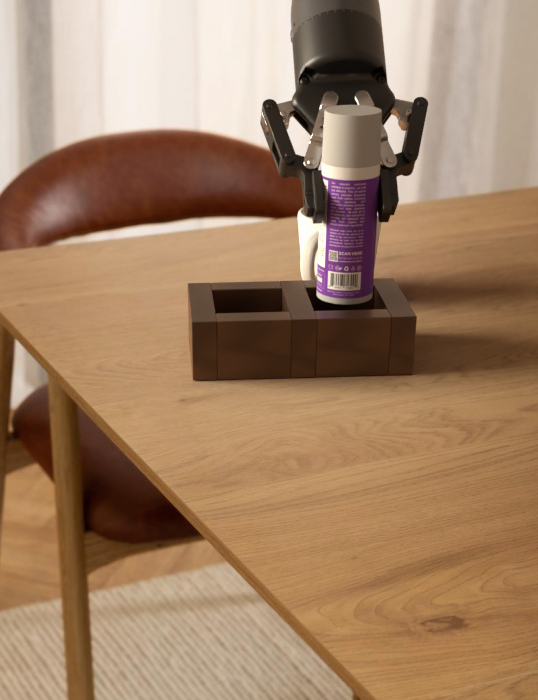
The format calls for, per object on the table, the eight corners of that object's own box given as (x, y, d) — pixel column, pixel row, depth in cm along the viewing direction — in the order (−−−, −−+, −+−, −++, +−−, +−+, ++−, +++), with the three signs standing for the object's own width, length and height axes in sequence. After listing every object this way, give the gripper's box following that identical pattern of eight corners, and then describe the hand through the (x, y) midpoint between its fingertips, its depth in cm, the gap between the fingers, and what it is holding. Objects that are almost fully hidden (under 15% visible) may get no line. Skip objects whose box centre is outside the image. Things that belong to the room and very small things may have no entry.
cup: (342, 320, 108) (346, 234, 105) (266, 306, 112) (267, 222, 108) (391, 288, 116) (396, 207, 113) (318, 275, 120) (321, 197, 116)
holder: (390, 332, 106) (393, 277, 103) (412, 374, 97) (417, 316, 94) (188, 337, 105) (187, 283, 102) (192, 380, 96) (191, 322, 94)
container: (384, 295, 99) (396, 109, 92) (347, 308, 96) (357, 118, 89) (340, 282, 102) (349, 102, 95) (304, 295, 99) (310, 110, 92)
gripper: (254, 6, 95) (265, 195, 90) (431, 4, 95) (452, 191, 90) (248, 66, 102) (259, 243, 97) (413, 63, 103) (432, 239, 98)
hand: (352, 217), depth 94 cm, fingers closed on container, 4 cm apart
